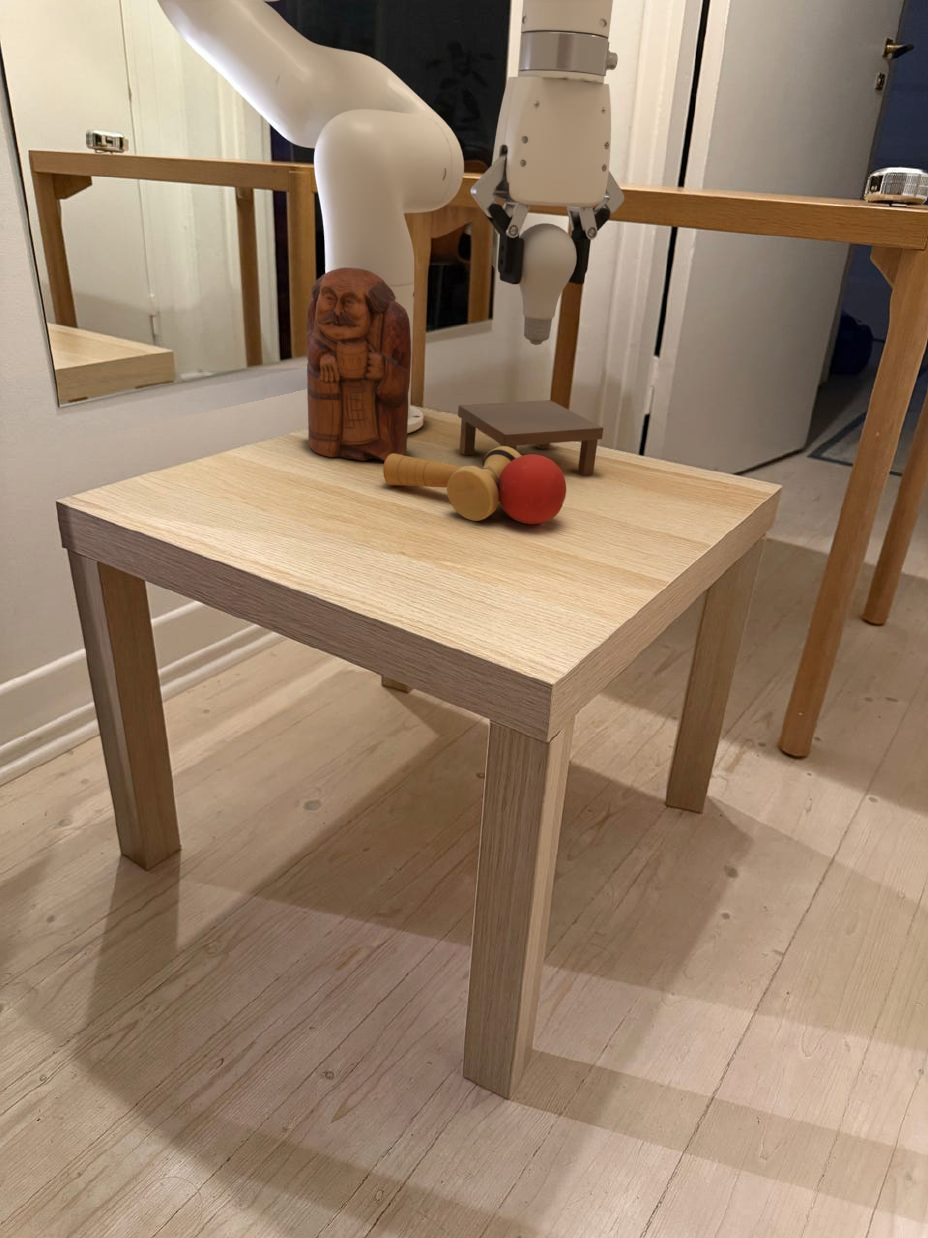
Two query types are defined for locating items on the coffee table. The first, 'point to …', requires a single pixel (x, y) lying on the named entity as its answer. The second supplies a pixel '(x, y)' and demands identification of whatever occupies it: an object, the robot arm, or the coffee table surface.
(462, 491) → the kendama
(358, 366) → the wooden figurine
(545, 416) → the desk
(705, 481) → the coffee table surface
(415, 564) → the coffee table surface
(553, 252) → the lightbulb
